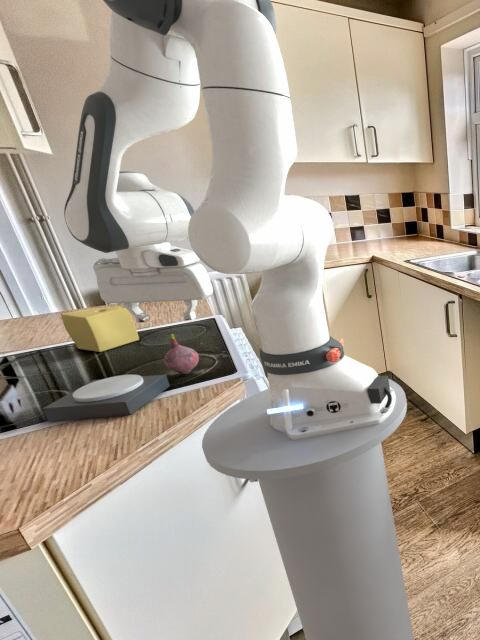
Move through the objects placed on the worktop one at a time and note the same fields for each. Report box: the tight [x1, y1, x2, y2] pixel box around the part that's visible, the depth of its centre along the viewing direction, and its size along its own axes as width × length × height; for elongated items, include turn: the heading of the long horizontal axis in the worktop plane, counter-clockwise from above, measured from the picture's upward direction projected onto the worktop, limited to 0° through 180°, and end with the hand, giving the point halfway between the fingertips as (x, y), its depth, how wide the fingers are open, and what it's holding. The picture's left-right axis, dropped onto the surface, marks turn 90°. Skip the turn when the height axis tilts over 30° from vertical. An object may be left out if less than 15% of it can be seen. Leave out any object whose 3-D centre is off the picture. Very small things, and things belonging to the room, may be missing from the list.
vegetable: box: [163, 333, 200, 376], centre depth 94 cm, size 6×6×10 cm
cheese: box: [61, 305, 140, 353], centre depth 115 cm, size 10×11×10 cm
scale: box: [42, 374, 171, 423], centre depth 84 cm, size 14×12×4 cm
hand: (167, 320), depth 92 cm, fingers open, 8 cm apart
